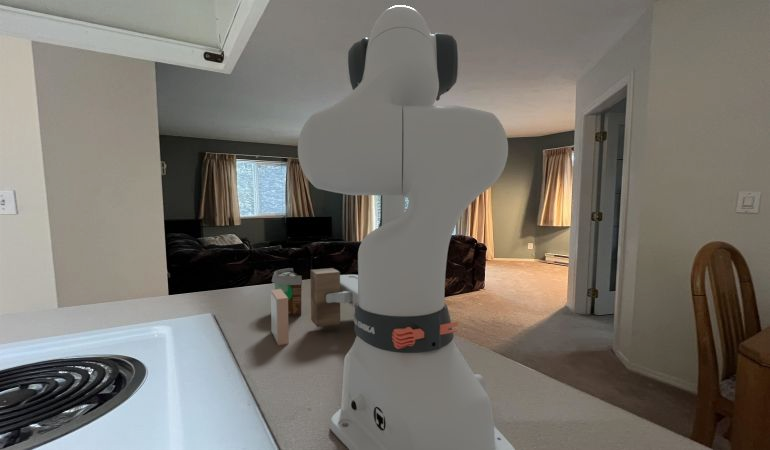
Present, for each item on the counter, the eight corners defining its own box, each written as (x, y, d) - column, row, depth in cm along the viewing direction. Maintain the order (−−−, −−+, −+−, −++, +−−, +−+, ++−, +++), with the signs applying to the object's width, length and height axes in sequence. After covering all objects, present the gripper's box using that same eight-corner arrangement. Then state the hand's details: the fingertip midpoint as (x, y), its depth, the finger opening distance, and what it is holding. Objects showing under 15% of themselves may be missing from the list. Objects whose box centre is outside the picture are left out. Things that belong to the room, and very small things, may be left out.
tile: (288, 343, 68) (288, 297, 67) (277, 345, 67) (276, 299, 66) (281, 330, 75) (281, 288, 75) (271, 331, 74) (270, 290, 74)
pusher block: (340, 323, 74) (339, 271, 73) (317, 327, 72) (316, 274, 71) (333, 316, 78) (332, 268, 78) (311, 319, 76) (310, 269, 76)
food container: (269, 306, 92) (268, 269, 92) (293, 304, 95) (292, 267, 94) (275, 320, 81) (275, 278, 81) (302, 317, 84) (302, 276, 83)
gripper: (362, 266, 89) (309, 271, 83) (400, 282, 71) (335, 289, 65) (363, 291, 90) (309, 297, 84) (400, 313, 71) (335, 323, 65)
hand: (321, 294), depth 74 cm, fingers closed on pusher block, 5 cm apart
